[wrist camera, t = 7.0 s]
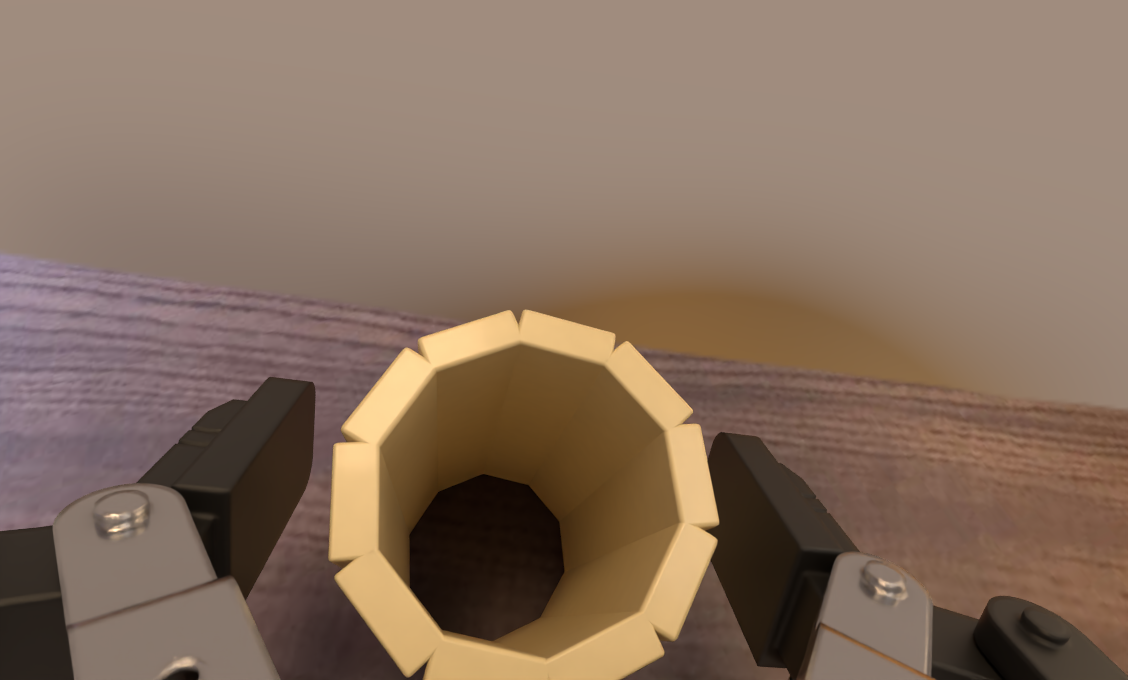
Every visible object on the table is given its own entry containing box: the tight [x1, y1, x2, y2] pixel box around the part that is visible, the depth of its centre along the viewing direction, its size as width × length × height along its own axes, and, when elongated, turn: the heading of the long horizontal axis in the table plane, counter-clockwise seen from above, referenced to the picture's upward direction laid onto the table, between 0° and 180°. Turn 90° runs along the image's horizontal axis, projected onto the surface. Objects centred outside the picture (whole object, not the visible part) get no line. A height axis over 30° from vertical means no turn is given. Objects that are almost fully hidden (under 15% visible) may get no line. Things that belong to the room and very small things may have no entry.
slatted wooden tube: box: [328, 310, 719, 680], centre depth 12 cm, size 5×5×9 cm
